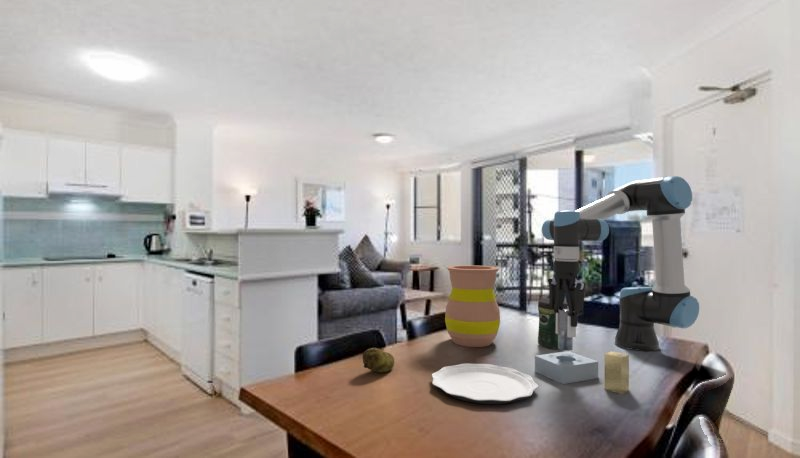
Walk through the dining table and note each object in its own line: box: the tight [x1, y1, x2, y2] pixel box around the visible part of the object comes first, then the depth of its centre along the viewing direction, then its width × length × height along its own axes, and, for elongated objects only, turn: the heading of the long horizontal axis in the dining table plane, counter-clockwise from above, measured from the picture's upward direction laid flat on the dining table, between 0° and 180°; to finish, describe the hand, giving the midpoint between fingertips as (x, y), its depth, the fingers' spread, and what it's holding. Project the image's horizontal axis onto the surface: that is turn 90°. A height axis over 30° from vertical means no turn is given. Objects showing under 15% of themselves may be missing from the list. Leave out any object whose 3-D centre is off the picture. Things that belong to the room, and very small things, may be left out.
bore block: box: [534, 350, 599, 385], centre depth 131 cm, size 14×12×5 cm
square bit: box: [604, 350, 630, 395], centre depth 119 cm, size 5×5×10 cm
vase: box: [444, 264, 501, 348], centre depth 169 cm, size 22×22×30 cm
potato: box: [362, 347, 395, 374], centre depth 132 cm, size 8×13×8 cm, turn 127°
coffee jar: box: [537, 297, 564, 350], centre depth 163 cm, size 10×8×19 cm
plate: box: [430, 362, 539, 405], centre depth 120 cm, size 29×29×2 cm
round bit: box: [558, 308, 574, 351], centre depth 131 cm, size 4×4×12 cm
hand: (565, 334), depth 131 cm, fingers closed on round bit, 4 cm apart
